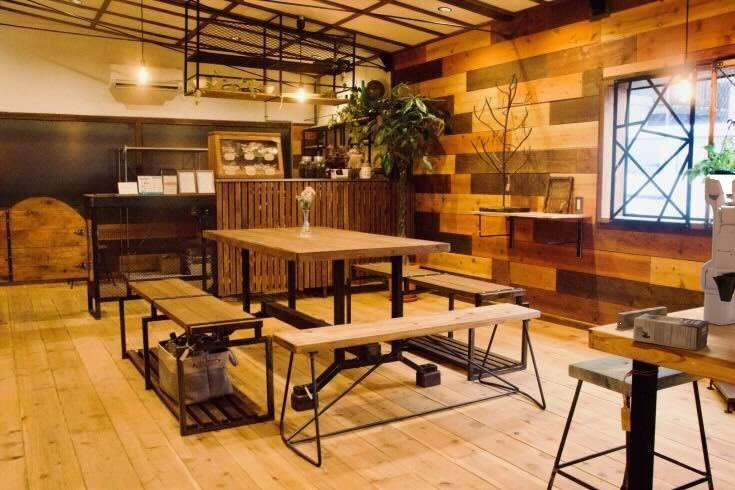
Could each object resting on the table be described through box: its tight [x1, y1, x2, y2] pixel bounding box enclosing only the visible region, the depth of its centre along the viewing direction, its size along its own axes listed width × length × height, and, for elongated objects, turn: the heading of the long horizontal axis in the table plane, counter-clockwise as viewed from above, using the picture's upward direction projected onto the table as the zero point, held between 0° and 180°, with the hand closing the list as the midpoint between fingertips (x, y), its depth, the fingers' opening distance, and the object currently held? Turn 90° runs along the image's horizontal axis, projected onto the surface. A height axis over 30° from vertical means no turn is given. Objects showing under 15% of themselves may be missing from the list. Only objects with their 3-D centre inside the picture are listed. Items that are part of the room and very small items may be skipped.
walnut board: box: [616, 306, 668, 329], centre depth 198 cm, size 20×2×4 cm, turn 121°
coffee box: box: [632, 314, 710, 352], centre depth 175 cm, size 9×6×16 cm
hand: (725, 301), depth 179 cm, fingers closed
